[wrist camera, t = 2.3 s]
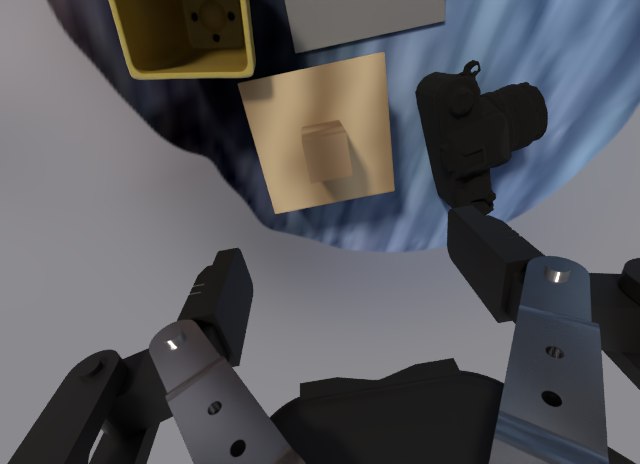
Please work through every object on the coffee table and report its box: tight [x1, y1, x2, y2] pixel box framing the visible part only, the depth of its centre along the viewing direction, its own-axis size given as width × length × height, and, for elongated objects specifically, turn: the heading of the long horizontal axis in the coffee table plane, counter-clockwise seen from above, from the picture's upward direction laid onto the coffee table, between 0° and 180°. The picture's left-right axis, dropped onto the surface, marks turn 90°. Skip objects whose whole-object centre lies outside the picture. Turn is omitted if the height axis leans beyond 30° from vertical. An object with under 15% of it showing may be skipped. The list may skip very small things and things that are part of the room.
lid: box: [238, 52, 395, 214], centre depth 26 cm, size 12×12×7 cm
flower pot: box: [109, 0, 256, 80], centre depth 24 cm, size 9×9×9 cm
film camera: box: [415, 60, 548, 216], centre depth 30 cm, size 15×10×9 cm, turn 21°
